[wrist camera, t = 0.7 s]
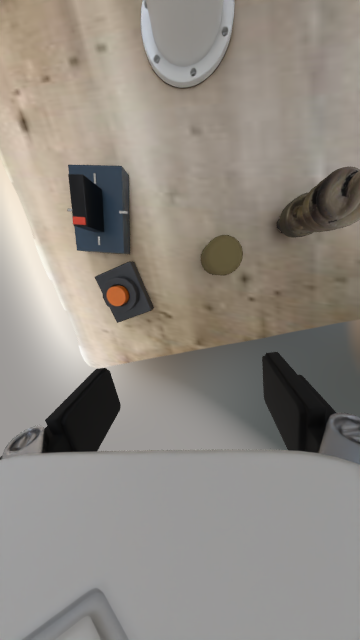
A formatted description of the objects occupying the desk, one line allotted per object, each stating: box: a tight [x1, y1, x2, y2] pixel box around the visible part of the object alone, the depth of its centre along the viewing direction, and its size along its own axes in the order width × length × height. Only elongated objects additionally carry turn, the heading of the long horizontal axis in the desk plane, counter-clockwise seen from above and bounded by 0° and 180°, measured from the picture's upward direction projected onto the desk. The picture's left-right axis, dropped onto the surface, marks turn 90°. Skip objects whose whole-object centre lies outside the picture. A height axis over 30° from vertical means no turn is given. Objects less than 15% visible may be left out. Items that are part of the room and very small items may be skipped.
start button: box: [107, 285, 129, 306], centre depth 33 cm, size 4×4×2 cm
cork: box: [201, 235, 243, 275], centre depth 28 cm, size 6×6×11 cm
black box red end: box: [69, 174, 104, 232], centre depth 28 cm, size 6×2×5 cm, turn 176°
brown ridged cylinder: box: [277, 167, 360, 237], centre depth 23 cm, size 6×6×15 cm
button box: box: [95, 262, 154, 323], centre depth 35 cm, size 10×8×4 cm
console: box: [68, 165, 130, 254], centre depth 32 cm, size 13×11×3 cm
